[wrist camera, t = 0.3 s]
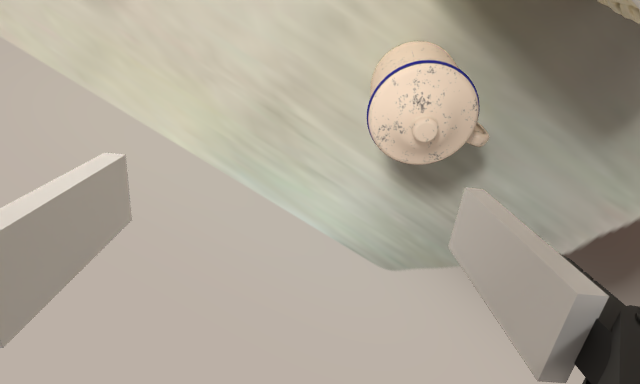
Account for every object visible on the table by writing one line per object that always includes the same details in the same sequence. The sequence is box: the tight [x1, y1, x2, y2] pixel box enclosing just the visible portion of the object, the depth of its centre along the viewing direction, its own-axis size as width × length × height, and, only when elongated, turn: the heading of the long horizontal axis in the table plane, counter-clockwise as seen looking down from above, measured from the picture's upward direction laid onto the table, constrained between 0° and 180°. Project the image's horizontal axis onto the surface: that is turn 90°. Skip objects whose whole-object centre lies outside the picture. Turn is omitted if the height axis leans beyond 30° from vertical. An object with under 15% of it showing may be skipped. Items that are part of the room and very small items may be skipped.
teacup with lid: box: [367, 41, 489, 165], centre depth 33 cm, size 12×9×12 cm
